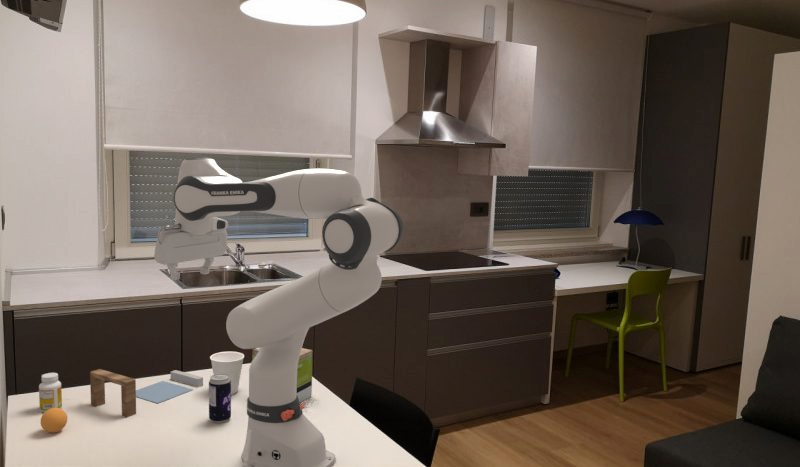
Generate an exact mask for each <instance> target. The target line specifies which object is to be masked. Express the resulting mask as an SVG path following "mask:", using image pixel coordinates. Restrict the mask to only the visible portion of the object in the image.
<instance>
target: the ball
mask: <svg viewBox="0 0 800 467" xmlns="http://www.w3.org/2000/svg"><path fill="white" fill-rule="evenodd" d="M67 423H68V414H67V413H66V411H65V410H64V409H62V408H61V409H60V408H51V409H49V410H47V411H46V412H43V414H42V415H41V418H40V426H41V428H42V429H43V430H44V431H45V432H47V433H57V432H60V431H62V430H63V429H64V428H65V426H66V425H67Z"/></svg>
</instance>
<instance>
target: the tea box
mask: <svg viewBox="0 0 800 467" xmlns="http://www.w3.org/2000/svg"><path fill="white" fill-rule="evenodd" d="M259 349H260V348H253V349H252V355H251V356H252V360H251V362H252V361H253V359H254V358H255V357H256V355H257V353H258V351H259ZM312 388H313V350H312V349H309V348H308V349H307V348H304V347H302V349H301V353H300V356H299V361H298V368H297V393H296V395H297V396H298V398H299V401H300V404H301V403H302V402H304V401H306V400H308V399H309V398H311V397H312V396H313V395H312V392H313V391H312V390H313V389H312Z"/></svg>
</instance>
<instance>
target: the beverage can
mask: <svg viewBox="0 0 800 467" xmlns="http://www.w3.org/2000/svg"><path fill="white" fill-rule="evenodd" d="M209 378H210V379H209V380H208V418H209V420H210V421H211V422H212V423H214V424H222V423H223V424H224V423H226V422H228V421H229V419H231V417H232V395H231V380H230V378H229V375H227V374H215V375H214V374H212V375H211V376H210V377H209Z"/></svg>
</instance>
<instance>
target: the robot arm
mask: <svg viewBox="0 0 800 467" xmlns="http://www.w3.org/2000/svg"><path fill="white" fill-rule="evenodd" d="M177 176H178V177H177V185H176V187H175V190H174V192H173V202H174V206H175V217H174V218H175V221H174V223H173V224H167V225H163V226H162V227H161V228H160V229H159V231H158V233H157V238H156V243H155V247H154V257H153V258H154V260H155V261H156V263H158V264H161V265H166V266H167V269H168V270H169V273H170V276H169V279H170V280H172V281H178V280H180V279H181V272H178V270H177V267H178V266H179V265H178V263H184V262H185V263H186V262H189V261H190V262H191V261H196V260H197V261H198V260H202V259H203V260H204V263H203V265H202V266H200V268H199V269H200V271H199V274H200V275H205V276H206V275H208V274H210V269H211V267H212V265H213V263H214V262H215V257H221V256H224V255H225V253H226V252H227V248H228V232H227V230H226V229H228V227H229V222H228V221H227V220H226V219H223V218H220V217H229V216H235V215H237V214H240V213H242V212H252V213H261V214H268V215H269V214H270V215H275V216H282V217H286V218H287V217H288V218H294V219H305V220H320V219H321V220H325V221H324V223H323V225H322V230H321V237H322V243H323V246H324V248H325V250H326V252H327V254H328V259H329V261H330V263H327V264H326V265H323V266H321V267H319V268H317V269H316V270H314V271H311V272H309V273H308V274H305V275H304V276H302V277H299V278H297V279H295V280H292V281H290V282H288V283H286V284H283V285H280V286H278V287H275V288H273V289H271V290H269V291H266V292H263V293H262V294H259V295H258V296H255V297H252V298H251V299H248V300H246V301H245V302H243V303H241V304H239V305H238V306H236V307H234V308H233V309H232V310H231V311H229V313H228V315H227V317H226V322H225V324H226V325H225V326H226V327H225V328H226V333H227V336H228V338H229V339H230V341H231V342H232V343H233V344H234V346H236V347H237V348H239V349H242V350H251V349H252V350H253V349H256V348H260V349H259V351H258V353H257V355H256V357H255V358H254V359H253V361H252V360H251V362H250V365H249V368H248V397H247V400H246V414H247V416H248V418H247V419H248V420H247V421H248V422H247V429H246V435H245V442H244V446H243V449H242V453H241V458H242V463H243V464H242V467H332V466H333V465H334V464H335V462H336V454H335V453H333V452H332V451H330V450H327V449H326V441H325V438H324V435H323V432H321V430H319V429H318V427H316V426H315V425H314V424H313V422H311V420H309V418H307V417H306V416H305V414H304V411H303V409H305V408H306V407H307V406H306V404H307V403H306V402H303V403H302V404H301V403H300V401H299V398H298V396H297V395H296V393H297V368H298V361H299V356H300V353H301V349H302V348H303V344H304V341H305V338H306V336H307V333H308V331H309V330H310V328H312V327H314V326H316V325H319V324H321V323H323V322H325V321H327V320H331V319H333V318H334V317H337V316H339V315H341V314H343V313H345V312H348V311H349V310H352V309H355V307H358V306H359V305H361V304H362V303H364V302H365V301H367V300H369V299H370V298H371V297H373V296H374V295H375V294H376V293H377V292H378V291H379V289H380V288H381V285H382V281H383V279H382V272H381V269H380V267H379V265H378V262H377V261H378V255H380V254H383V253H387V252H389V251H391V250H393V249H394V248H395V247H396V246H398V244H400V242H401V241H402V238H403V236H404V232H405V226H404V222H403V219H402V216H401V215H400V214H399V213H398V212H397V211H396V210H395V209H394V208H392V207H390V206H388V205H386V204H384V203H382V202H381V201H379V200H377V199H376V198H374V197H369V198H364V197H363V194H362V187H361V184H360V182H359V180H358V178H357V177H356V175H354V174H353V173H350V172H349V171H345V170H341V169H331V168H305V169H298V170H292V171H288V172H284V173H279V174H277V175H273V176H267V177H265V178H260V179H256V180H252V181H251V180H250V181H246V182H244V181H243V179H241V178H239V177H235V176H234V175H232V174H230V173H228V172H227V171H225V170H224V169H222V168H221V167H220V166H219V165H218V163H217V162H216V160H215V159H214V158H211V157H189V158H185V159H184V160H182V162H181V164H180V166H179V170H178V175H177Z"/></svg>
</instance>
